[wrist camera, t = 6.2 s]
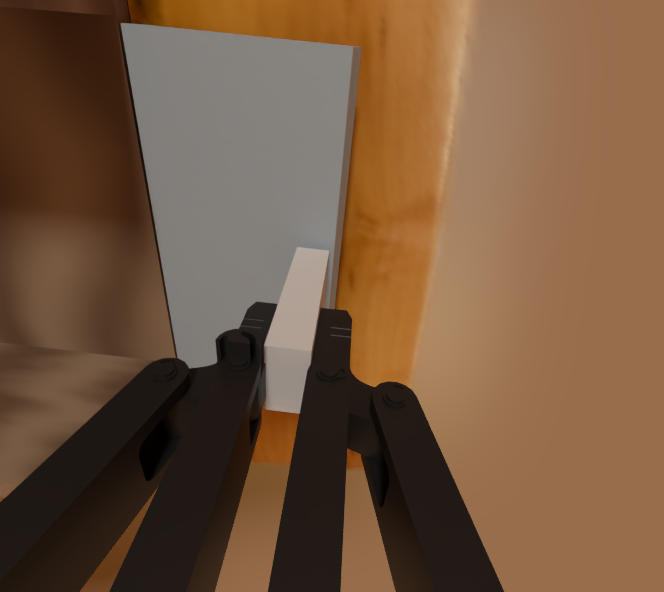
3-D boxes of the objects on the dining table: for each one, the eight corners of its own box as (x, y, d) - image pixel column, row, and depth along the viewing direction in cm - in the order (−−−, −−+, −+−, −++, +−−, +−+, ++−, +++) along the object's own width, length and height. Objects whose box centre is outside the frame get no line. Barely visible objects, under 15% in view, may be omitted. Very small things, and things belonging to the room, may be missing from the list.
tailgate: (178, 364, 24) (319, 406, 23) (120, 23, 15) (353, 47, 13) (190, 352, 25) (326, 391, 24) (142, 24, 16) (361, 46, 14)
